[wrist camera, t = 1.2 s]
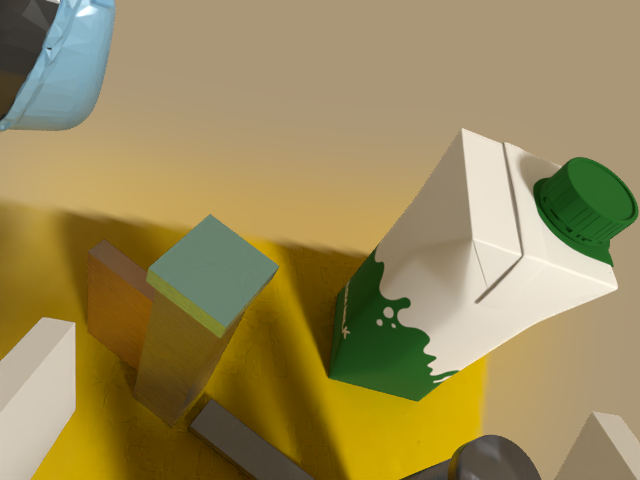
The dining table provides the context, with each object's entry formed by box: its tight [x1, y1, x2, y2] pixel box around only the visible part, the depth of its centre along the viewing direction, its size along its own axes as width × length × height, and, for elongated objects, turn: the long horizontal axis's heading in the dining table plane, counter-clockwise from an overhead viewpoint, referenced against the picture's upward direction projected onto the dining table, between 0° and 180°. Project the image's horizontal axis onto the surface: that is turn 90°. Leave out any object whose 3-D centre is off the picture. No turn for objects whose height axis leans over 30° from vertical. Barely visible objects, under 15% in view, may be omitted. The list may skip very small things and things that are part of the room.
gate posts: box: [88, 214, 541, 480], centre depth 25 cm, size 21×4×15 cm, turn 59°
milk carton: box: [329, 128, 638, 401], centre depth 30 cm, size 9×9×20 cm
